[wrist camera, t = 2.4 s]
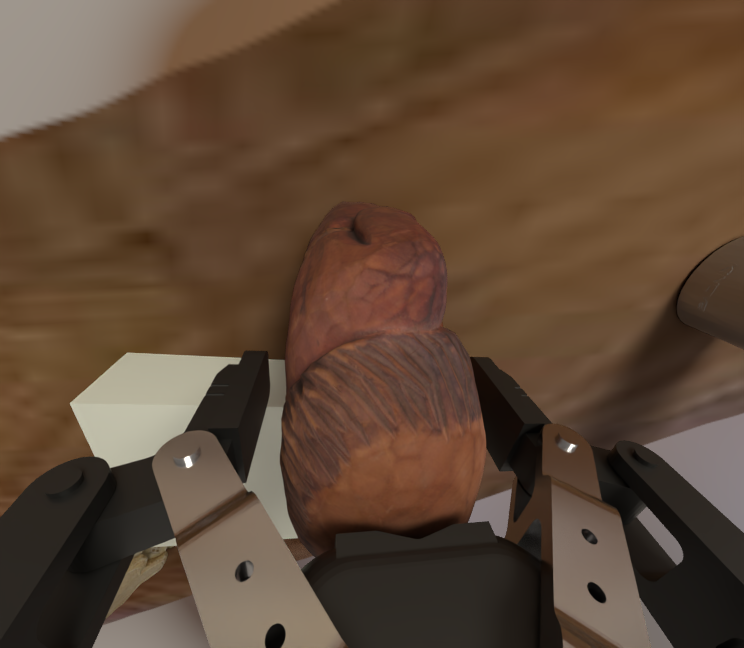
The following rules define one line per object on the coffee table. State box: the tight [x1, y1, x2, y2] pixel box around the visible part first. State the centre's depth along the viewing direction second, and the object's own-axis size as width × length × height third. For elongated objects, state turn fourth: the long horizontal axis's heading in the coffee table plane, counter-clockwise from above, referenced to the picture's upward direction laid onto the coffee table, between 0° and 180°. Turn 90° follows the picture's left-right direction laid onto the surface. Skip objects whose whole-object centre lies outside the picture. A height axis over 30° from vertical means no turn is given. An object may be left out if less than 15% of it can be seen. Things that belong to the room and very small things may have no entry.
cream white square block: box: [70, 353, 298, 547], centre depth 26 cm, size 16×18×6 cm
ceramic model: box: [105, 546, 173, 619], centre depth 29 cm, size 14×11×10 cm
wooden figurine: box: [280, 202, 486, 557], centre depth 14 cm, size 12×6×18 cm, turn 176°
